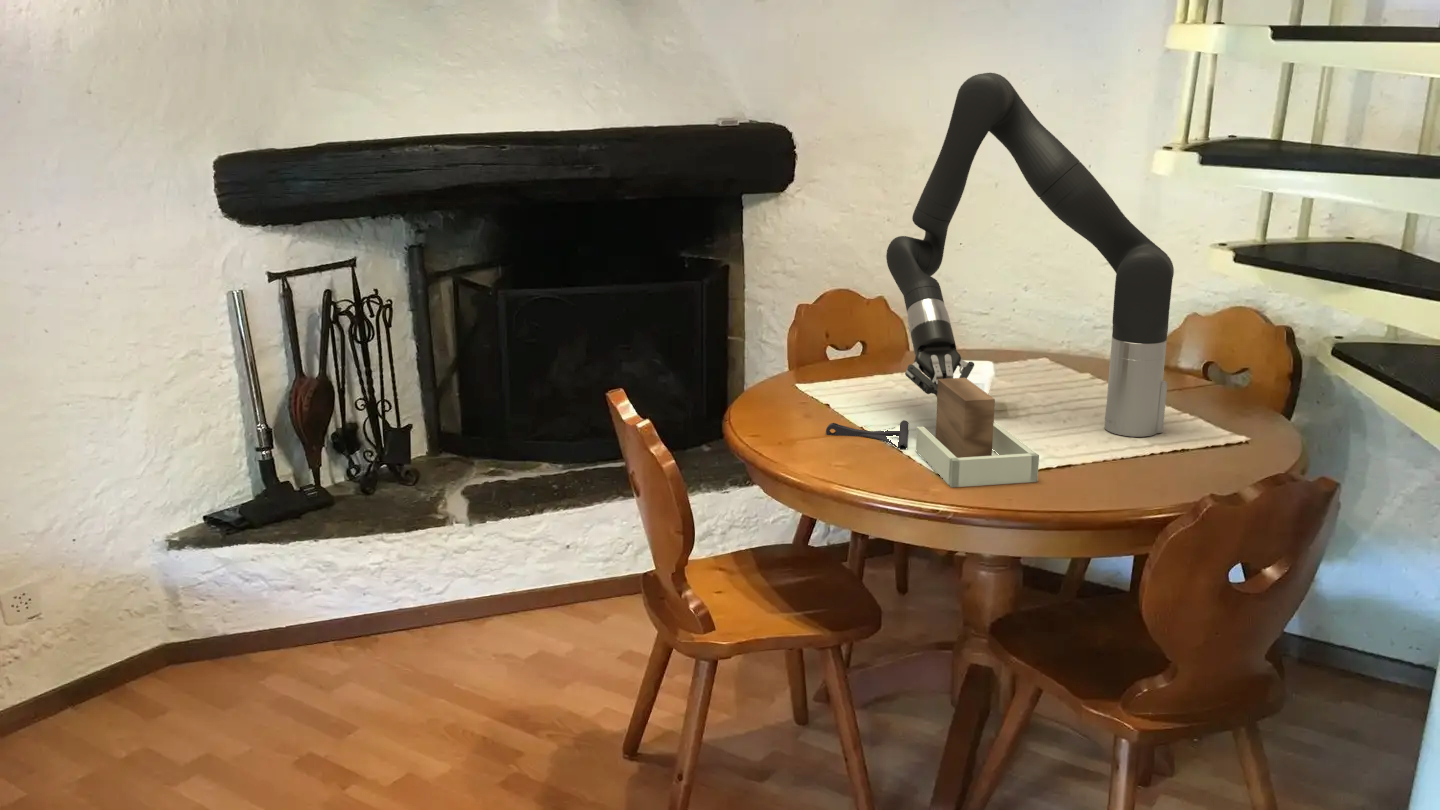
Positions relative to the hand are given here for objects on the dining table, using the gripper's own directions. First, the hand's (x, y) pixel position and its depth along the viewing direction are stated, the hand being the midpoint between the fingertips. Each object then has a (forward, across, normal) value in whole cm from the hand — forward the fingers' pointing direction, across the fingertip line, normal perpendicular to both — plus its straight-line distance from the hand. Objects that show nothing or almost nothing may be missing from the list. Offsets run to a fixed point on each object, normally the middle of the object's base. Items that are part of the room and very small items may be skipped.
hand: (949, 411), depth 197 cm
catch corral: (+13, 0, -5) cm, 14 cm away
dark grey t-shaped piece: (0, -13, +9) cm, 16 cm away
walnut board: (+9, 0, -1) cm, 10 cm away
